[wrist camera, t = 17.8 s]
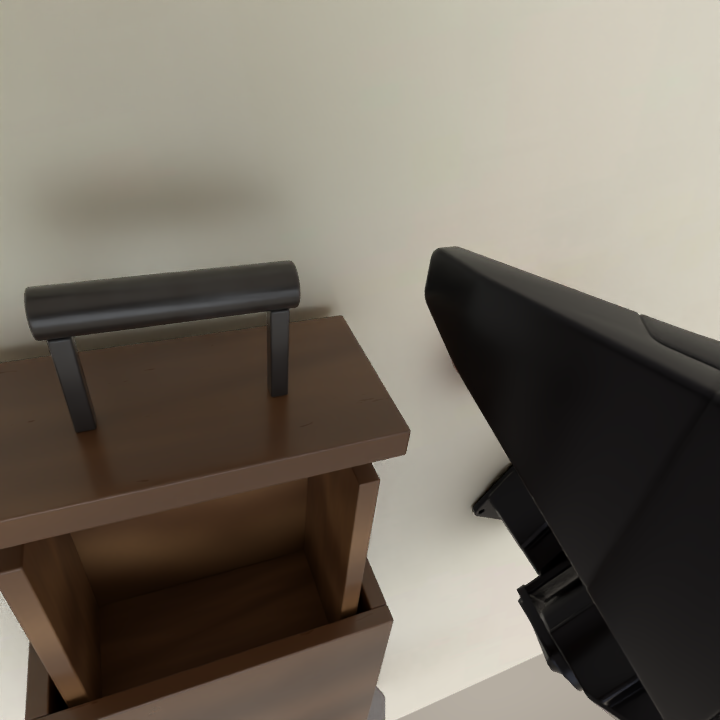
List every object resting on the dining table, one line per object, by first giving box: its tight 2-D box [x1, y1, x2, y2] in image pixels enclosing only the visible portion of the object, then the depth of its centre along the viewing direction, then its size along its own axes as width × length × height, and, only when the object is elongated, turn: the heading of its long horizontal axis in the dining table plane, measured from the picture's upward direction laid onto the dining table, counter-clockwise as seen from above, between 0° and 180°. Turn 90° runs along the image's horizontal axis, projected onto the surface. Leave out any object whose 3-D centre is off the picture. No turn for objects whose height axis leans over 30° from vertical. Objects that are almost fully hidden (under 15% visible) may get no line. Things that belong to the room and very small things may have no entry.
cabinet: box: [25, 556, 393, 720], centre depth 31 cm, size 17×15×9 cm
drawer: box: [0, 261, 410, 708], centre depth 22 cm, size 20×13×7 cm, turn 174°
